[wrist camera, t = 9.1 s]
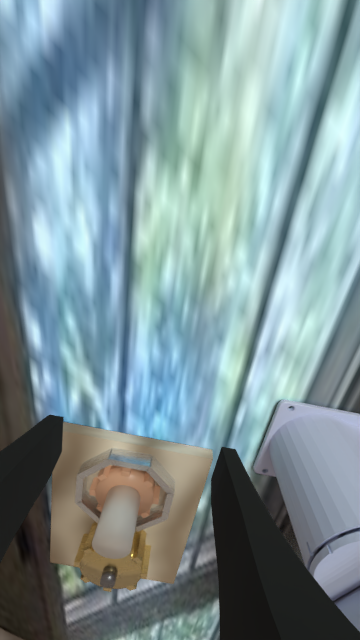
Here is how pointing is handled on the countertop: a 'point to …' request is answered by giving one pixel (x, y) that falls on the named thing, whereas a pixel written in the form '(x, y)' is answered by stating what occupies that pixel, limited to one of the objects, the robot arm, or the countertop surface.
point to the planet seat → (134, 462)
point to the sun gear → (113, 563)
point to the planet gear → (120, 507)
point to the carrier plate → (163, 537)
